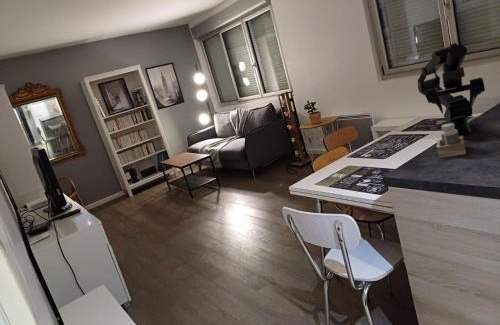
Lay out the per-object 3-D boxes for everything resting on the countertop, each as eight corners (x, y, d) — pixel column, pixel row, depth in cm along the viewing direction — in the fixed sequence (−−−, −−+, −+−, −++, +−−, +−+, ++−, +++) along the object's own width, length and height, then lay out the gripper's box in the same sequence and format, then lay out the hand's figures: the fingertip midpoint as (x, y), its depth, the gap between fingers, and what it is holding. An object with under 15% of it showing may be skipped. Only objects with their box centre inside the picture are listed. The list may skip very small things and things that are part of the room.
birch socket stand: (438, 150, 136) (436, 140, 135) (464, 145, 131) (462, 135, 130) (438, 157, 129) (436, 147, 128) (466, 153, 124) (464, 143, 123)
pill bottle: (464, 147, 129) (459, 121, 127) (456, 153, 126) (451, 126, 124) (449, 147, 133) (444, 122, 131) (441, 153, 131) (436, 127, 129)
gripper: (420, 69, 135) (423, 104, 129) (478, 54, 124) (484, 91, 118) (427, 85, 143) (430, 119, 137) (482, 72, 132) (487, 108, 126)
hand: (456, 110), depth 129 cm, fingers open, 9 cm apart
